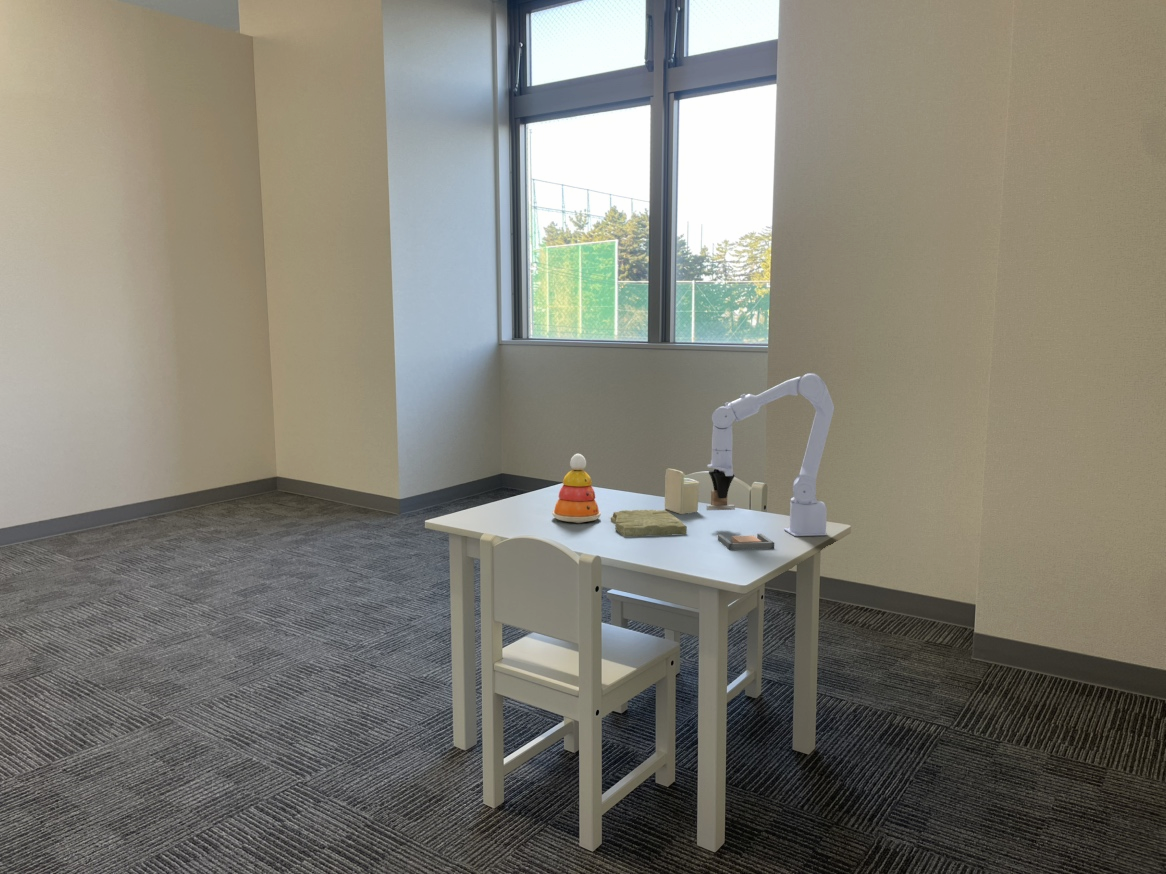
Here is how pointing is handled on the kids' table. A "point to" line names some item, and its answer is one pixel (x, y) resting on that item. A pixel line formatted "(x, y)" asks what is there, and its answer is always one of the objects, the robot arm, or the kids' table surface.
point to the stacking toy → (577, 495)
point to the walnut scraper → (719, 502)
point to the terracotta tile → (745, 539)
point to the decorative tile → (647, 523)
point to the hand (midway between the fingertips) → (720, 497)
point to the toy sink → (680, 492)
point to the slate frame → (764, 544)
